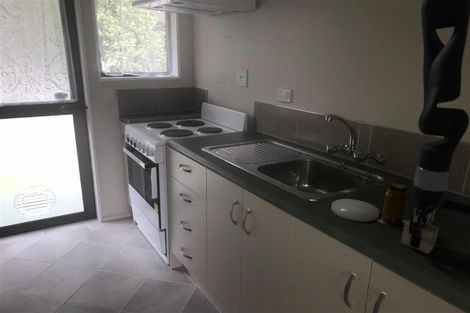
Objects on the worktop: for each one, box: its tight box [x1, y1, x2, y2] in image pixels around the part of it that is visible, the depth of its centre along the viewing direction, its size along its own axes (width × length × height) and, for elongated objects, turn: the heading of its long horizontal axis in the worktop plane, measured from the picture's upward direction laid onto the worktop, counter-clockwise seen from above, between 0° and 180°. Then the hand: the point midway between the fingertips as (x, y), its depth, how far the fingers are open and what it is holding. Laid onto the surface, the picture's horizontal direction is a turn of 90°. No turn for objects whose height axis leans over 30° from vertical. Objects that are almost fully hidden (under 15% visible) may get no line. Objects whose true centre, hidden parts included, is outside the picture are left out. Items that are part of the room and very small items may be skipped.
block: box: [400, 219, 439, 254], centre depth 93 cm, size 5×7×6 cm
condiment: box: [376, 182, 408, 230], centre depth 105 cm, size 7×8×12 cm
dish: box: [330, 198, 380, 223], centre depth 114 cm, size 15×15×1 cm
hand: (417, 243), depth 94 cm, fingers closed on block, 5 cm apart
